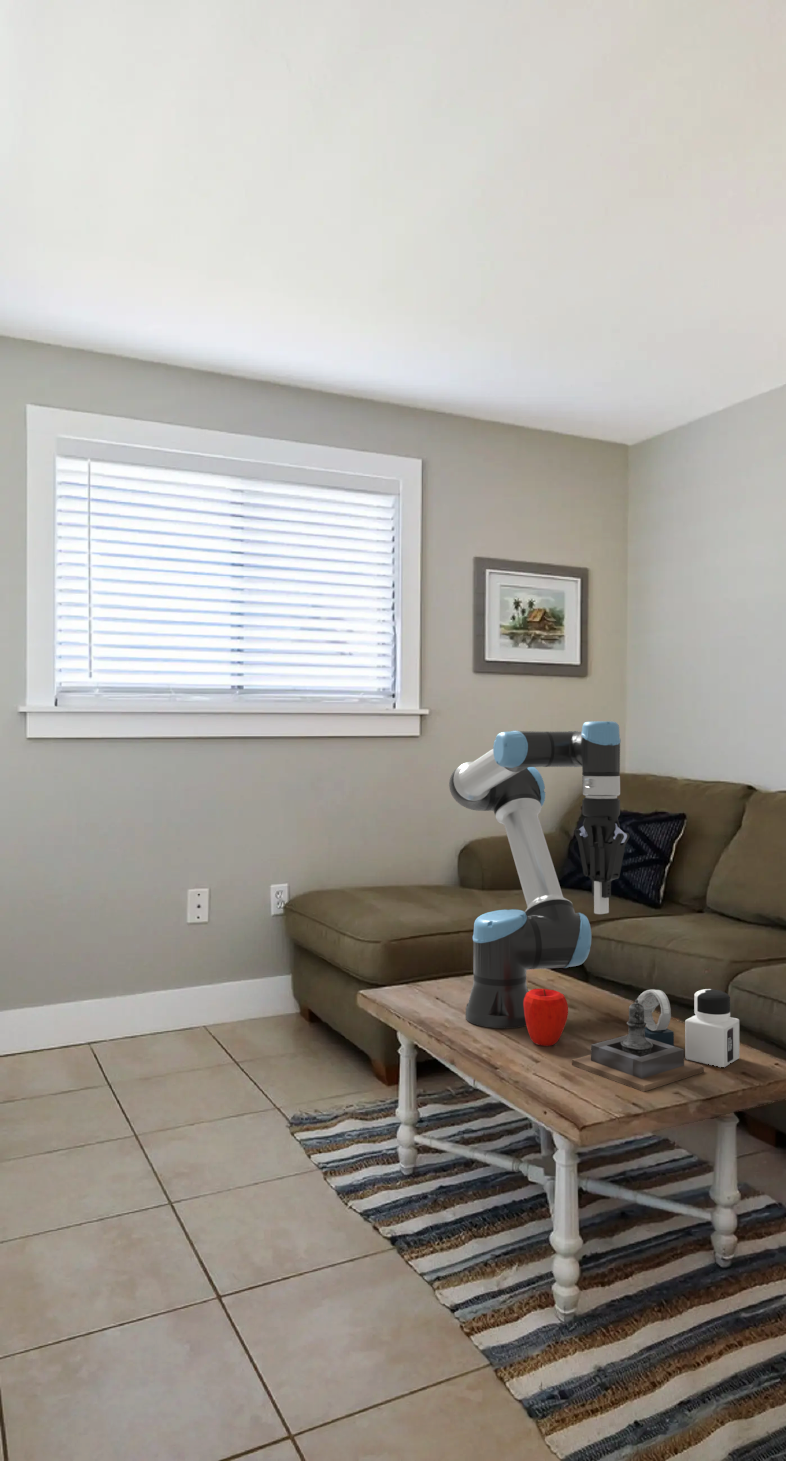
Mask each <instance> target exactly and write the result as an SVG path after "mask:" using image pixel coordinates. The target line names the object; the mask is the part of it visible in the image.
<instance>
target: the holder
mask: <svg viewBox="0 0 786 1461" xmlns="http://www.w3.org/2000/svg"><path fill="white" fill-rule="evenodd" d="M627 1038H628V1034H626V1035H622V1036H619V1037H618V1036H617V1037H615V1038H611V1039H607V1040H603V1041H599V1042H596V1043H592V1044H590V1054H588V1055H584V1056H580V1057H577V1058H573V1059H572V1060H571V1065H572V1066H573V1067H576V1068H579V1069H582V1070H584V1071H586V1072H589V1073H592V1074H594V1075H597V1076H600V1077H604V1078H606V1079H608V1080H610V1081H615V1082H617V1083H619V1084H623V1085H624V1086H627V1087H631V1088H633V1089H636V1090H639V1091H641V1092H647V1091H650V1090H652V1089H656V1088H659V1087H662V1086H666V1085H668V1084H671V1083H672V1084H673V1083H675V1082H677V1081H680V1080H684V1079H687V1078H689V1077H692V1076H696V1075H699V1074H701V1072H702V1073H704V1072H705V1066H703V1065H701V1064H697V1063H695V1062H692V1061H691V1062H690V1061H689V1060H685V1048H681V1047H677V1046H675V1045H674V1046H672V1045H669V1044H665V1043H662V1042H659V1041H656V1040H652V1039H649V1038H646V1040H647V1041H648V1042H651V1043H652V1044H653V1047H652V1048H651V1052H650V1054H648V1055H645V1056H641V1057H639V1056H636V1055H633V1054H630V1053H627V1052H624V1051H623V1049H622V1045H621V1041H623V1040H626V1039H627ZM698 1073H699V1074H698Z"/></svg>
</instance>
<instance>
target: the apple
mask: <svg viewBox="0 0 786 1461" xmlns="http://www.w3.org/2000/svg"><path fill="white" fill-rule="evenodd" d="M523 1005H524V1014H525V1020H526V1029H527V1033H528V1035H529V1038H530V1040H531V1041H532V1042H533V1043H534V1044H535V1045H538V1046H543V1047H551V1046H553V1045H555V1044H557V1043H558V1041H560V1038H561V1036H562V1033H563V1031H564V1029H565V1026H566V1025H567V1024H566V1023H567V1021H568V1016H569V1004H568V1001H567V999H566V997H565V995H564V994H563V993H561V992H560V991H557V990H556V989H548V988H533V989H530V990H528V992H527V993H526V995H525V998H524V1003H523Z"/></svg>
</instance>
